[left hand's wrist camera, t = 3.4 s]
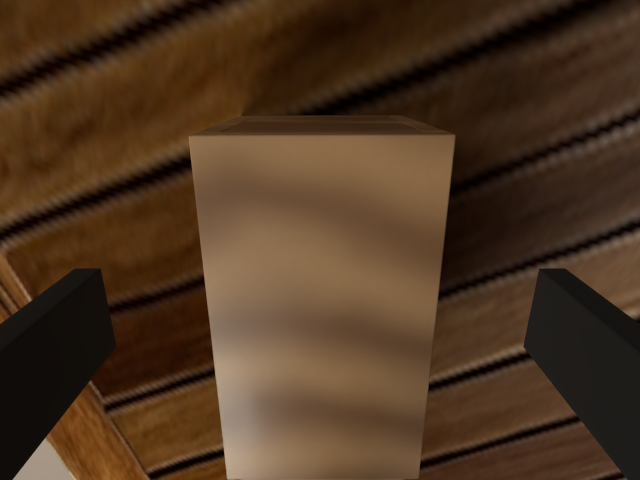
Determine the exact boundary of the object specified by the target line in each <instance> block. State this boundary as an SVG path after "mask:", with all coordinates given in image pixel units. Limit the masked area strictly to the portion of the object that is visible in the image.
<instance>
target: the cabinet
mask: <svg viewBox="0 0 640 480" xmlns="http://www.w3.org/2000/svg"><path fill="white" fill-rule="evenodd" d="M455 138H456V135H455V134H452V133H450V132H447V131H444V130H442V129H439V128H436V127H433V126H430V125H428V124H425V123H422V122H419V121H416V120H414V119H411V118H408V117H405V116H402V115H331V116H240V117H237V118H234V119H232V120H229V121H227V122H224V123H221V124H219V125H216V126H213V127H211V128H208V129H206V130H203V131H200V132H198V133H195V134H192V135H189V145H190V154H191V163H192V171H193V180H194V189H195V198H196V207H197V216H198V225H199V234H200V242H201V251H202V260H203V269H204V278H205V287H206V296H207V304H208V313H209V322H210V331H211V340H212V349H213V358H214V366H215V375H216V384H217V393H218V402H219V411H220V420H221V428H222V437H223V446H224V455H225V464H226V473H227V479H418V478H419V469H420V460H421V451H422V441H423V432H424V423H425V414H426V405H427V395H428V386H429V377H430V368H431V359H432V349H433V340H434V331H435V322H436V313H437V303H438V294H439V285H440V276H441V266H442V257H443V248H444V239H445V230H446V220H447V211H448V202H449V193H450V184H451V174H452V165H453V156H454V147H455Z"/></svg>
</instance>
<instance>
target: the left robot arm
mask: <svg viewBox="0 0 640 480" xmlns="http://www.w3.org/2000/svg"><path fill="white" fill-rule="evenodd" d="M115 348H116V342H115V337H114V332H113V327H112V322H111V317H110V312H109V307H108V303H107V298H106V293H105V288H104V283H103V278H102V273H101V269H74V270H72V271H71V272H70V273H68V274H67V275H66V276H64V277H63V278H62V279H60V280H59V281H58V282H56V283H55V284H54V285H52V286H51V287H50V288H48V289H47V290H46V291H44V292H43V293H42V294H40V295H39V296H37V297H36V298H35V299H33V300H32V301H31V302H29V303H28V304H27V305H25V306H24V307H23V308H21V309H20V310H19V311H17V312H16V313H15V314H13V315H12V316H11V317H9V318H8V319H7V320H5V321H4V322H3V323H1V324H0V480H13V478H14V477H15V476H16V474H17V473H18V472H19V471H20V469H21V468H22V467H23V466H24V464H25V463H26V462H27V460H28V459H29V458H30V457H31V455H32V454H33V453H34V452H35V450H36V449H37V448H38V446H39V445H40V444H41V443H42V441H43V440H44V439H45V437H46V436H47V435H48V434H49V432H50V431H51V430H52V428H53V427H54V426H55V425H56V423H57V422H58V421H59V420H60V418H61V417H62V416H63V414H64V413H65V412H66V411H67V409H68V408H69V407H70V405H71V404H72V403H73V402H74V400H75V399H76V398H77V397H78V395H79V394H80V393H81V391H82V390H83V389H84V388H85V386H86V385H87V384H88V382H89V381H90V380H91V379H92V377H93V376H94V375H95V374H96V372H97V371H98V370H99V368H100V367H101V366H102V365H103V363H104V362H105V361H106V359H107V358H108V357H109V356H110V354H111V353H112V352H113V350H114V349H115ZM524 348H525V349H526V350H527V352H528V353H529V354H530V356H531V357H532V358H533V359H534V361H535V362H536V363H537V365H538V366H539V367H540V368H541V370H542V371H543V372H544V374H545V375H546V376H547V377H548V379H549V380H550V381H551V382H552V384H553V385H554V386H555V388H556V389H557V390H558V391H559V393H560V394H561V395H562V397H563V398H564V399H565V400H566V402H567V403H568V404H569V405H570V407H571V408H572V409H573V411H574V412H575V413H576V414H577V416H578V417H579V418H580V420H581V421H582V422H583V423H584V425H585V426H586V427H587V428H588V430H589V431H590V432H591V434H592V435H593V436H594V437H595V439H596V440H597V441H598V443H599V444H600V445H601V446H602V448H603V449H604V450H605V452H606V453H607V454H608V455H609V457H610V458H611V459H612V460H613V462H614V463H615V464H616V466H617V467H618V468H619V469H620V471H621V472H622V473H623V475H624V476H625V477H626V478H627V480H640V324H639V323H637V322H636V321H635V320H633V319H632V318H631V317H629V316H628V315H627V314H625V313H624V312H623V311H621V310H620V309H619V308H617V307H616V306H615V305H613V304H612V303H611V302H609V301H608V300H607V299H605V298H604V297H603V296H601V295H600V294H598V293H597V292H596V291H594V290H593V289H592V288H590V287H589V286H588V285H586V284H585V283H584V282H582V281H581V280H580V279H578V278H577V277H576V276H574V275H573V274H572V273H570V272H569V271H568V270H566V269H539V273H538V278H537V283H536V288H535V293H534V298H533V303H532V307H531V312H530V317H529V322H528V327H527V332H526V337H525V342H524Z"/></svg>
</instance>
